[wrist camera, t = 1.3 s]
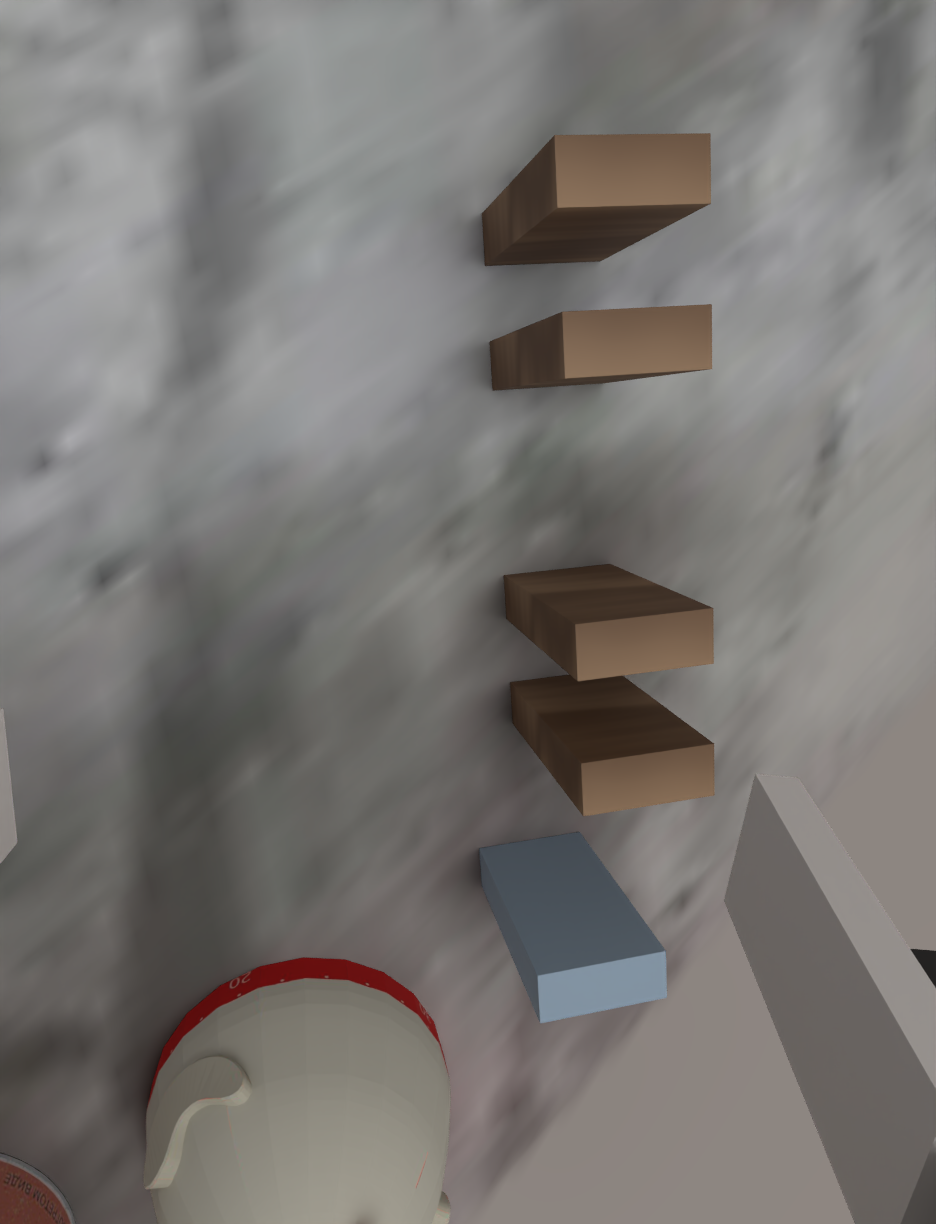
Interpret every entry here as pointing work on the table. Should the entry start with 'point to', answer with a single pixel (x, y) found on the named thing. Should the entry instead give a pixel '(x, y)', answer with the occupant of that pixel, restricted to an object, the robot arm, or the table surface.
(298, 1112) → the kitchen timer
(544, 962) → the domino
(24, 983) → the table surface
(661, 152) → the domino
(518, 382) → the domino
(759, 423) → the table surface
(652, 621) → the domino
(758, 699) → the table surface
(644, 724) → the domino
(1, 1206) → the canned food
